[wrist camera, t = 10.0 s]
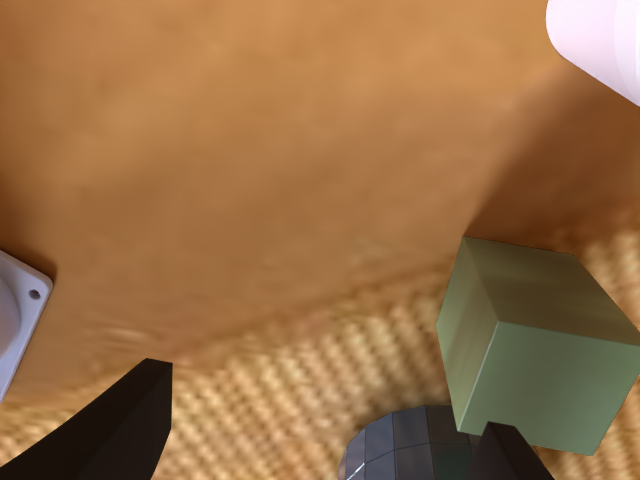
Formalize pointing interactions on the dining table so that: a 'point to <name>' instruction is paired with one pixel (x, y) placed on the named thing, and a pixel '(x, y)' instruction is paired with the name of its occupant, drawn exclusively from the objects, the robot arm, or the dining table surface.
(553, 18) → the smoothie
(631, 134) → the dining table surface
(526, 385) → the block
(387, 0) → the dining table surface
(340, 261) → the dining table surface
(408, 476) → the bowl
